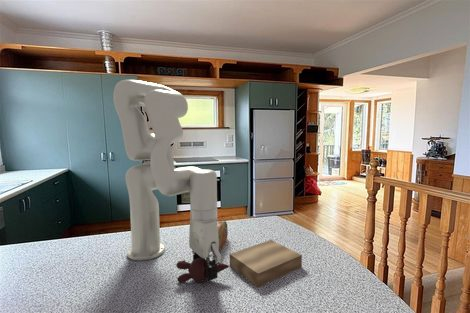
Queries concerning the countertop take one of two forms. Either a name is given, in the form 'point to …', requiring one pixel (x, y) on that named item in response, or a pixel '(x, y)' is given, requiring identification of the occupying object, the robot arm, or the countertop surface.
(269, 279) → the base
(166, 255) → the countertop surface
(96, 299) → the countertop surface
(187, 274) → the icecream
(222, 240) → the tin
